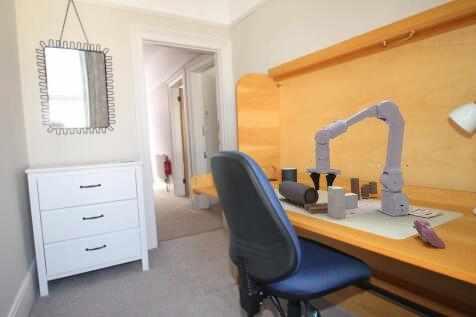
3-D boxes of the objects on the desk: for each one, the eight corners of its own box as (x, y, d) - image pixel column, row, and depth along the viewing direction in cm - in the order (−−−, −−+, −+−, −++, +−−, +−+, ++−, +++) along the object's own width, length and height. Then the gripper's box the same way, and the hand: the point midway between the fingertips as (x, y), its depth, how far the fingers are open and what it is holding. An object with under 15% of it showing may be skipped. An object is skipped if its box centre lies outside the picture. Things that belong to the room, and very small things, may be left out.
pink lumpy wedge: (415, 239, 81) (408, 217, 81) (432, 236, 80) (425, 213, 80) (428, 253, 72) (420, 228, 72) (447, 249, 71) (439, 224, 71)
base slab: (344, 212, 111) (344, 206, 110) (312, 215, 109) (311, 209, 108) (334, 207, 119) (334, 202, 118) (304, 210, 116) (304, 204, 116)
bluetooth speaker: (320, 207, 120) (319, 185, 120) (302, 209, 117) (302, 187, 117) (293, 197, 142) (292, 178, 141) (277, 199, 139) (277, 180, 138)
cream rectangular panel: (364, 215, 105) (364, 214, 105) (345, 217, 104) (345, 215, 104) (355, 211, 111) (355, 210, 111) (337, 212, 110) (337, 211, 110)
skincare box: (345, 219, 101) (345, 188, 100) (335, 220, 101) (334, 189, 100) (337, 215, 107) (336, 185, 106) (327, 216, 107) (326, 186, 106)
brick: (357, 208, 116) (357, 194, 116) (341, 210, 114) (341, 196, 114) (351, 206, 120) (351, 192, 120) (336, 207, 118) (336, 194, 118)
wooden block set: (374, 196, 137) (373, 176, 137) (381, 198, 129) (379, 177, 129) (337, 197, 139) (336, 177, 139) (342, 200, 131) (341, 179, 131)
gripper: (343, 158, 110) (344, 191, 111) (311, 157, 120) (312, 187, 121) (336, 159, 105) (336, 194, 106) (303, 159, 115) (304, 190, 116)
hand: (323, 190), depth 113 cm, fingers open, 5 cm apart
